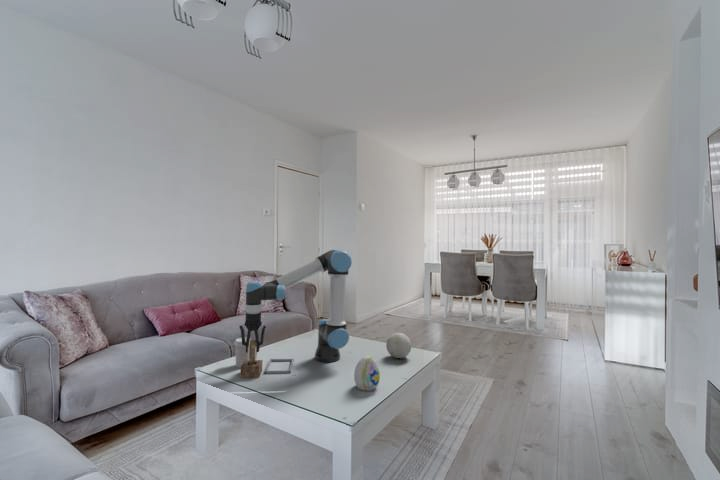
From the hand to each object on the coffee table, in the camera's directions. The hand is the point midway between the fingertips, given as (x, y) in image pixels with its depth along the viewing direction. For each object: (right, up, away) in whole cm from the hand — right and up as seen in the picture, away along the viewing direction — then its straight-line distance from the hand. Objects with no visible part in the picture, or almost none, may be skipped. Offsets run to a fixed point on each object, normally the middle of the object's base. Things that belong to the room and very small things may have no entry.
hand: (252, 358), depth 176 cm
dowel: (0, -7, 0) cm, 7 cm away
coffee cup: (-9, -9, +12) cm, 17 cm away
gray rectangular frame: (+11, -9, +11) cm, 18 cm away
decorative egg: (+58, -10, -11) cm, 60 cm away
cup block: (0, -9, 0) cm, 9 cm away
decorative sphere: (+78, -11, +34) cm, 86 cm away
